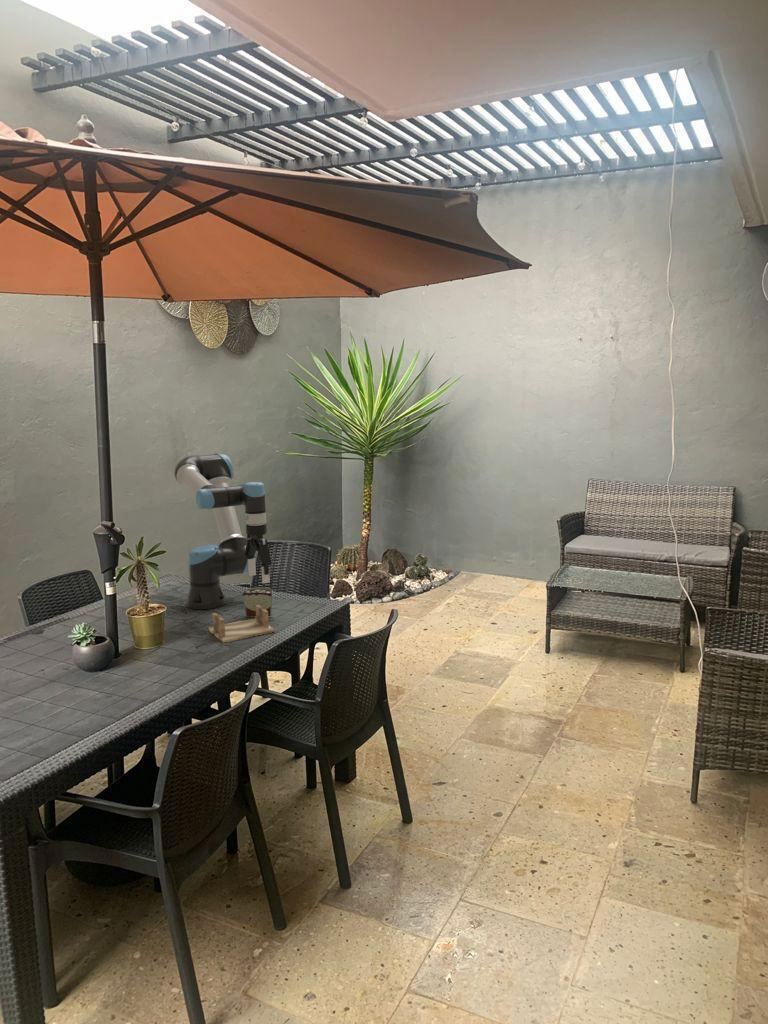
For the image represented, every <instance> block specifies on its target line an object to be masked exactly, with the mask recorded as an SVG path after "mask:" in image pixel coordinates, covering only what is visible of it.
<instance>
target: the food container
mask: <svg viewBox="0 0 768 1024" xmlns="http://www.w3.org/2000/svg"><path fill="white" fill-rule="evenodd" d="M274 596H275V595H274V591H273V589H271V588H269V587H263V586H259V587H251V588H247V589H244V590H242V591H241V597H242V598H243V604H244V610H245V616H256V607H255V605H259V606H261V607H262V608H264V609H266V610H267V611H268V616H271V617H272V608H273V607H272V603H273V598H274Z"/></svg>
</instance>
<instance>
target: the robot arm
mask: <svg viewBox="0 0 768 1024" xmlns="http://www.w3.org/2000/svg"><path fill="white" fill-rule="evenodd" d="M173 474H174V477H175V480H176V482H178V484H180V485H181V486H183V487H186V488H187V489H188V490H189V491H190V492H192V493H193V495H194V496H195V503H196V505H197V508H198V509H200V510H211V509H213V512H214V517H215V518H214V519H215V521H216V525H217V529H218V533H219V537H220V543H219V544H218V545H217V544H214V543H210V544H204V545H203V544H201V545H199V546H196V547H194V548H192V549H190V550H189V551H188V553H187V554H188V556H187V559H188V561H187V564H188V575H189V589H188V590H189V591H188V594H187V598H186V607H187V608H189V609H192V610H210V609H215V608H219V607H221V606H223V605H225V604H226V595H225V593H224V591H223V588H222V585H221V579H220V578H221V577H226V576H234V575H240V574H241V575H242V574H246V573H248V576H249V577H251V576H252V577H253V576H256V575H257V571H256V570H257V568H256V566H257V565H256V555H257V554H256V552H257V553H258V556H259V558H260V562H261V565H260V567H261V582H262V584H268V583H270V582H271V581H270V580H271V579H270V576H271V575H270V566H272V564H273V563H272V558H271V555H270V551H269V550H270V549H269V546H268V539H267V538H264V535H266V534H267V533H268V532H267V531H268V529H267V512H266V510H267V509H266V491H265V484H264V483H263V482H261V481H250V482H248V481H247V482H245V483H244V484H241V483H240V484H237V485H235V486H233V485H232V486H230V484H231V483H232V480H233V478H234V467H233V462H232V460H231V459H230V457H229V456H228V455H226V454H223V453H214V454H201V455H199V454H198V455H189V456H186V457H183V458H182V459H180V461H179V462H178V463H177V464H176V466H175V467H174V473H173ZM238 506H244V510H245V516H244V519H245V523H246V525H245V532H246V537H245V536H243V535H242V531H241V527H240V523H239V519H238V516H237V511H236V508H235V507H238Z"/></svg>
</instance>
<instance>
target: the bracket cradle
mask: <svg viewBox="0 0 768 1024" xmlns="http://www.w3.org/2000/svg"><path fill="white" fill-rule="evenodd" d="M255 607H256V617H253V618H250V619H244V620H238V621H233V622H230V623H229V622H228V623H225V619H224V618H223V617H222V616H220V615H219V614H218V613H217V612H212V626H208V627H207V631H209V632H210V633H211V634H212V635H213V634H214V636H215V638H217V639H218V640H219V641H220V642H222V644H226V643H229V642H235V641H239V639H240V640H244V638H245V639H249V637H250V638H254V637H253V636H255V637H259V636H258V635H260V636H264V635H269V634H273V633H272V632H274V633H276V629H275V628H273V627H272V626H271V625H270V624H269V623H270V622H269V621H270V620H269V617H268V611H267V610H266V609H264V608H262V607H261V606H259V605H255ZM268 633H269V634H268ZM263 634H264V635H263ZM225 642H226V643H225Z"/></svg>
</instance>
